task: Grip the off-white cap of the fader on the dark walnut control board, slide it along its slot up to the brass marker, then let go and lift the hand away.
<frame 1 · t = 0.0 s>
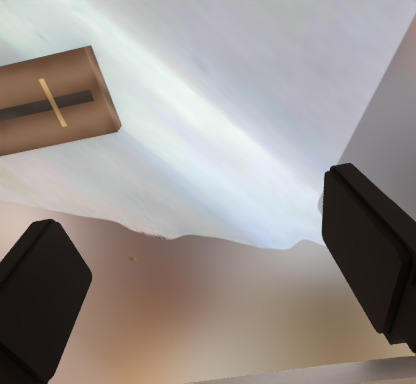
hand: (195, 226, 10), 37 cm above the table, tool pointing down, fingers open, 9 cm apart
control board: (35, 104, 42), on the table
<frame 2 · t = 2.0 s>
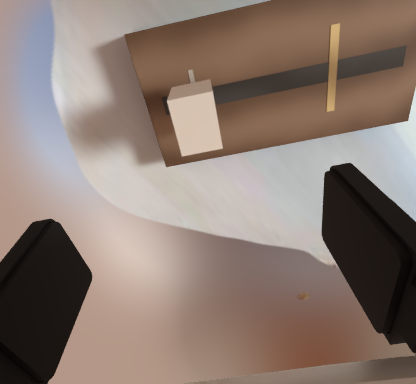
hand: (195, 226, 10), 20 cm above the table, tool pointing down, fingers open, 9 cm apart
fader: (196, 111, 21), point 7 cm above the table, slide at 0.0 cm
control board: (272, 75, 26), on the table
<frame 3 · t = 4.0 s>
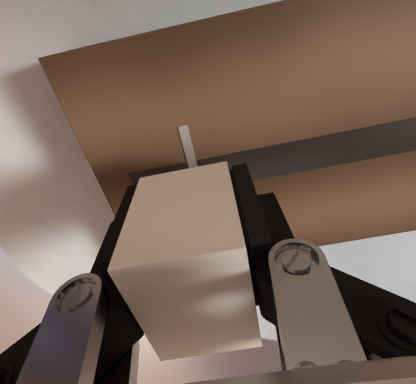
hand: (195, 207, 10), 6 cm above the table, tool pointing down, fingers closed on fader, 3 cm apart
fader: (195, 227, 9), point 7 cm above the table, slide at 0.0 cm, touching gripper
control board: (330, 123, 15), on the table
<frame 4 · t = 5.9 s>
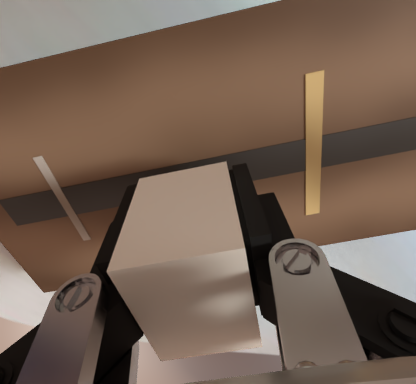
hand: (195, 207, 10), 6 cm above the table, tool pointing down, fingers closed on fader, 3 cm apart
fader: (195, 228, 9), point 7 cm above the table, slide at 6.5 cm, touching gripper
control board: (212, 146, 15), on the table
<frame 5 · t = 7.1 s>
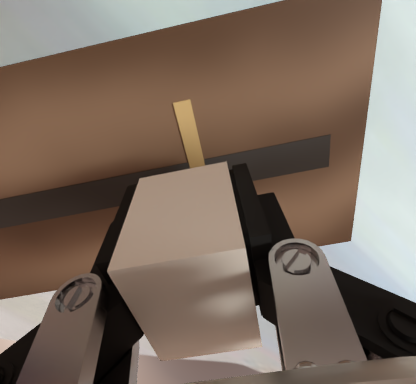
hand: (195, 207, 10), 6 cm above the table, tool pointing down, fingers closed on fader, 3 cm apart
fader: (195, 228, 9), point 7 cm above the table, slide at 11.8 cm, touching gripper
control board: (122, 164, 15), on the table
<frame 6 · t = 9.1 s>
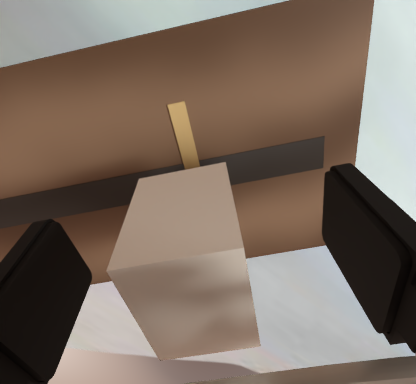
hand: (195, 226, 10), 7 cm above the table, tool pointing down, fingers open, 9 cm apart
fader: (194, 228, 10), point 7 cm above the table, slide at 12.0 cm
control board: (118, 166, 15), on the table
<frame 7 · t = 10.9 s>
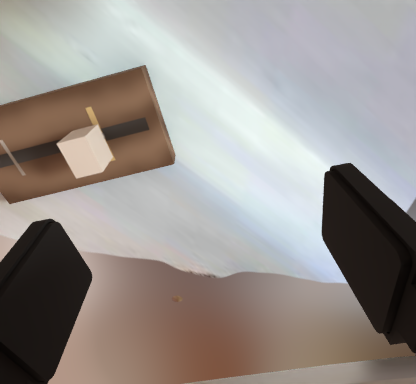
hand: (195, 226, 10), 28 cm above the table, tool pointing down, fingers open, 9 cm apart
fader: (91, 146, 30), point 7 cm above the table, slide at 12.0 cm
control board: (76, 136, 36), on the table
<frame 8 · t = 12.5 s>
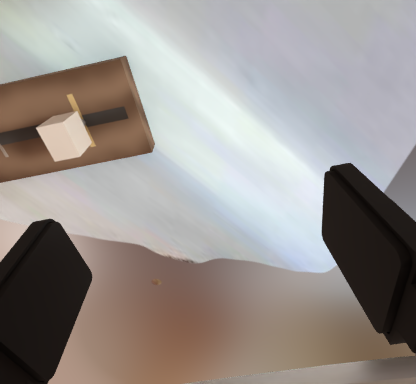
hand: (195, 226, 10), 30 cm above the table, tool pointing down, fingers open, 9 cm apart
fader: (70, 131, 32), point 7 cm above the table, slide at 12.0 cm
control board: (59, 121, 38), on the table
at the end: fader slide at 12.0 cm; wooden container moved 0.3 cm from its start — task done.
